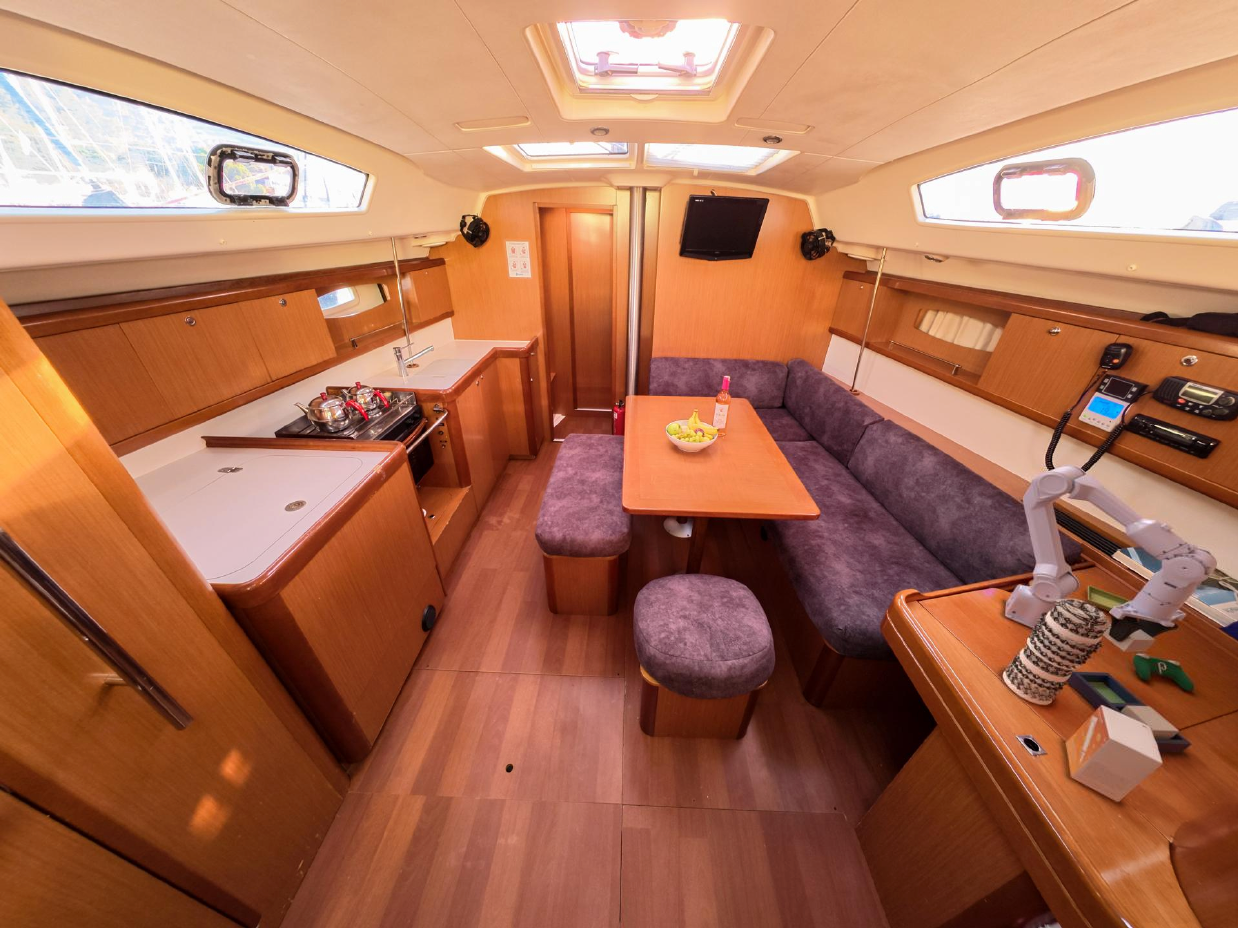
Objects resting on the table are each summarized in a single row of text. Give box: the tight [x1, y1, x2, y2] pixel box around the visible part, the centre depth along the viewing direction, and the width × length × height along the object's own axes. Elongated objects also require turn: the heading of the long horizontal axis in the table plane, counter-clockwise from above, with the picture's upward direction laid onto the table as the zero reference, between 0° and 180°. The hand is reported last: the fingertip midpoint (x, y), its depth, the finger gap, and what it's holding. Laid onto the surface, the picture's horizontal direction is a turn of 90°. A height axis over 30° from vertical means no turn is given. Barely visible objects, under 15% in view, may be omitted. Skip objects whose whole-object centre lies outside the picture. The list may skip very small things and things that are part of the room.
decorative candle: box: [1002, 598, 1111, 706], centre depth 86 cm, size 9×9×25 cm
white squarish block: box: [1102, 621, 1157, 653], centre depth 94 cm, size 5×5×4 cm
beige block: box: [1121, 705, 1180, 739], centre depth 82 cm, size 5×5×4 cm
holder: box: [1067, 671, 1193, 754], centre depth 86 cm, size 8×15×3 cm, turn 179°
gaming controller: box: [1132, 653, 1195, 692], centre depth 94 cm, size 9×4×6 cm
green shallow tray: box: [1087, 585, 1131, 612], centre depth 115 cm, size 9×9×2 cm
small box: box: [1065, 705, 1164, 803], centre depth 73 cm, size 8×6×13 cm
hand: (1125, 638), depth 94 cm, fingers closed on white squarish block, 5 cm apart
